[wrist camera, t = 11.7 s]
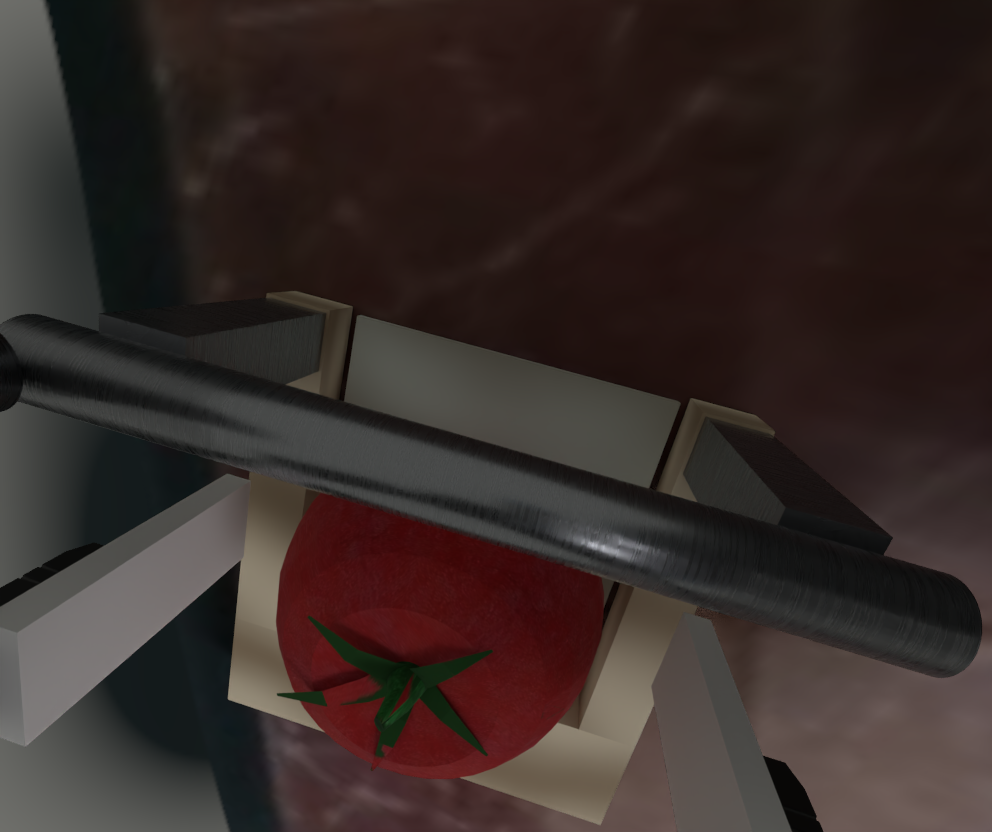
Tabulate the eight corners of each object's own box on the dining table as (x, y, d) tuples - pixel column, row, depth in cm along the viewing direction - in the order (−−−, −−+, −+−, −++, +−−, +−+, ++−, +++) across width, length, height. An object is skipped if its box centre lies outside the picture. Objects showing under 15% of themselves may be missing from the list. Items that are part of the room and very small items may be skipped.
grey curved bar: (226, 285, 15) (-291, 310, 6) (792, 440, 14) (1193, 757, 5) (221, 344, 16) (-257, 445, 7) (766, 497, 14) (1083, 878, 5)
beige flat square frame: (295, 290, 16) (266, 293, 15) (755, 415, 15) (775, 431, 14) (252, 668, 21) (227, 699, 20) (598, 783, 20) (600, 825, 19)
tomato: (328, 586, 19) (163, 795, 12) (380, 371, 16) (207, 460, 9) (548, 669, 19) (527, 946, 11) (641, 461, 16) (696, 641, 8)
